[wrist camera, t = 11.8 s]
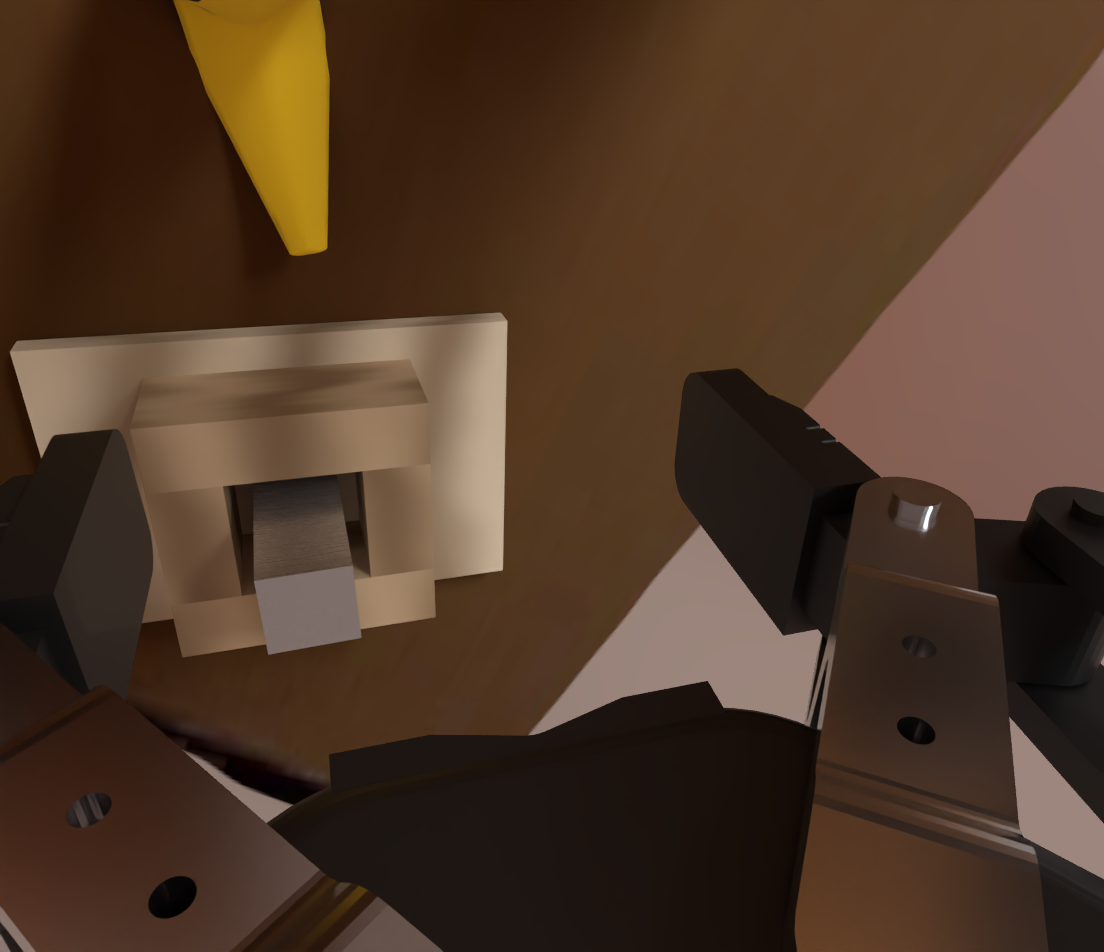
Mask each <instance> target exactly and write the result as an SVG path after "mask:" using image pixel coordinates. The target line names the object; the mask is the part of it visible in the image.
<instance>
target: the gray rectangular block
mask: <svg viewBox="0 0 1104 952" xmlns="http://www.w3.org/2000/svg"><path fill="white" fill-rule="evenodd" d="M253 530H254V584H255V589H256V594H257V599H258V605H259V610H260V615H261V620H262V625H263V630H264V635H265V640H266V645H267V650H268V655H269V654H274V653H280V652H285V651H291V650H296V649H302V648H308V647H313V646H319V645H324V644H330V643H335V642H341V641H346V640H352V639H357V638H361V630H360V622H359V614H358V605H357V597H356V589H355V581H354V572H353V564H352V559H351V553H350V548H349V542H348V536H347V531H346V525H345V519H344V514H343V508H342V502H341V497H340V491H339V486H338V480H337V474H332V475H323V476H314V477H305V478H295V479H286V480H277V481H268V482H258V483H253Z"/></svg>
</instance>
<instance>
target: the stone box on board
mask: <svg viewBox="0 0 1104 952" xmlns="http://www.w3.org/2000/svg"><path fill="white" fill-rule="evenodd" d="M10 354H11V357H12V361H13V364H14V367H15V371H16V374H17V378H18V381H19V384H20V388H21V391H22V395H23V398H24V401H25V405H26V408H27V412H28V415H29V418H30V422H31V425H32V429H33V432H34V435H35V439H36V442H37V446H38V449H39V452H40V456H41V458H42V456H43V454H44V452H45V450H46V448H47V446H48V444H49V442H50V440H51V438H52V437H53V436H54V435H59V434H69V433H79V432H89V431H99V430H109V429H118V430H119V431H120V432H121V434H122V436H123V438H124V440H125V443H126V446H127V449H128V453H129V456H130V460H131V463H132V467H133V471H134V474H135V478H136V481H137V485H138V489H139V492H140V496H141V499H142V503H143V507H144V510H145V514H146V517H147V521H148V525H149V529H150V533H151V539H152V546H153V573H152V578H151V583H150V587H149V592H148V597H147V601H146V606H145V611H144V615H143V620H142V623H147V622H154V621H161V620H168V619H174V623H175V628H176V632H177V636H178V641H179V645H180V649H181V654H182V657H189V656H195V655H201V654H208V653H214V652H220V651H226V650H233V649H239V648H245V647H251V646H258V645H264V644H266V640H265V635H264V630H263V625H262V620H261V615H260V610H259V605H258V599H257V594H256V589H255V584H254V530H253V483H258V482H268V481H277V480H286V479H295V478H305V477H314V476H323V475H332V474H337V480H338V486H339V491H340V497H341V502H342V508H343V514H344V519H345V525H346V531H347V536H348V542H349V548H350V553H351V559H352V564H353V572H354V581H355V589H356V597H357V605H358V614H359V622H360V629H364V628H370V627H377V626H383V625H389V624H395V623H402V622H408V621H414V620H420V619H427V618H433V617H435V587H434V580H439V579H446V578H453V577H460V576H466V575H473V574H480V573H487V572H494V571H500V570H503V529H504V473H505V418H506V362H507V320H506V319H505V317H504V316H503V315H502V314H501V313H484V314H467V315H450V316H433V317H416V318H399V319H382V320H365V321H348V322H331V323H314V324H297V325H280V326H263V327H246V328H229V329H212V330H195V331H178V332H161V333H144V334H126V335H109V336H92V337H75V338H58V339H41V340H24V341H17V342H16V343H15V345H14V346H13V348H12V349H11V351H10Z"/></svg>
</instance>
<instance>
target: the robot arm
mask: <svg viewBox="0 0 1104 952" xmlns="http://www.w3.org/2000/svg"><path fill="white" fill-rule="evenodd" d="M675 478H676V483H677V488H678V491H679V494H680V496H681V498H682V500H683V502H684V503H685V504H686V506H687V507H688V508H689V510H690V511H691V512H692V514H693V515H694V516H695V518H696V519H697V520H698V522H699V523H700V525H701V526H702V527H703V528H704V530H705V531H706V533H707V534H708V535H709V537H710V538H711V539H712V541H713V542H714V543H715V544H716V546H717V547H718V548H719V550H720V551H721V552H722V554H723V555H724V557H725V558H726V559H727V561H728V562H729V563H730V564H731V566H732V567H733V569H734V570H735V571H736V573H737V574H738V575H739V577H740V578H741V579H742V581H743V582H744V583H745V585H746V586H747V587H748V589H749V590H750V591H751V593H752V594H753V595H754V597H755V598H756V599H757V601H758V602H759V603H760V605H761V606H762V607H763V609H764V610H765V611H766V613H767V614H768V615H769V617H770V618H771V619H772V621H773V622H774V623H775V625H776V626H777V628H778V629H779V630H780V632H781V633H782V634H783V635H789V634H794V633H799V632H805V631H810V630H816V629H818V630H819V631H820V632H821V634H822V637H821V641H820V645H819V650H818V653H817V659H816V663H815V669H814V674H813V680H812V685H811V690H810V696H809V701H808V706H807V712H806V718H805V722H804V724H801V723H799V722H797V721H793V720H790V719H787V718H783V717H780V716H777V715H773V714H768V713H763V712H759V711H753V710H745V709H735V708H723V706H722V705H721V703H720V701H719V699H718V698H717V696H716V694H715V693H714V691H713V689H712V688H711V686H710V684H709V683H708V681H706V682H700V683H695V684H690V685H684V686H679V687H674V688H669V689H664V690H659V691H653V692H648V693H643V694H638V695H633V696H628V697H623V698H620V699H618V700H615V701H613V702H611V703H609V704H606V705H604V706H602V707H600V708H597V709H595V710H593V711H590V712H588V713H586V714H584V715H581V716H579V717H577V718H575V719H572V720H570V721H568V722H566V723H563V724H561V725H559V726H556V727H554V728H552V729H550V730H547V731H545V732H542V733H539V734H536V735H528V736H499V735H427V736H422V737H417V738H412V739H407V740H401V741H396V742H391V743H386V744H381V745H376V746H371V747H365V748H360V749H355V750H350V751H345V752H340V753H335V754H329V760H330V777H331V787H328V788H326V789H324V790H322V791H320V792H317V793H315V794H313V795H311V796H309V797H307V798H306V799H304V800H302V801H300V802H298V803H297V804H295V805H293V806H291V807H289V808H288V809H286V810H285V811H284V812H282V813H281V814H279V815H278V816H276V817H275V818H273V819H272V820H270V821H269V822H268V823H265V822H264V821H263V820H262V819H261V818H260V817H258V816H257V815H256V814H255V813H254V812H253V811H252V810H250V809H249V808H248V807H247V806H246V805H245V804H243V803H242V802H241V801H240V800H239V799H238V798H237V797H235V796H234V795H233V794H232V793H231V792H230V791H229V790H227V789H226V788H225V787H224V786H223V785H222V784H220V783H219V782H218V781H217V780H216V779H215V778H213V776H211V775H210V774H209V773H208V772H207V771H205V770H204V769H203V768H202V767H201V766H200V765H199V764H198V763H196V762H195V761H194V760H193V759H192V758H191V757H190V756H188V755H187V754H186V753H185V752H184V751H183V750H181V749H180V748H179V747H178V746H177V745H176V744H175V743H173V742H172V741H171V740H170V739H169V738H168V737H166V736H165V735H164V734H163V733H162V732H161V731H160V730H158V729H157V728H156V727H155V726H154V725H153V724H152V723H150V722H149V721H148V720H147V719H146V718H145V717H143V716H142V715H141V714H140V713H139V712H138V711H137V710H135V709H134V708H133V707H132V706H131V705H130V704H129V703H127V702H126V701H125V700H126V695H127V690H128V686H129V681H130V676H131V672H132V667H133V662H134V658H135V653H136V648H137V644H138V639H139V634H140V629H141V625H142V620H143V615H144V611H145V606H146V601H147V597H148V592H149V587H150V583H151V578H152V573H153V546H152V539H151V533H150V529H149V525H148V521H147V517H146V514H145V510H144V507H143V503H142V499H141V496H140V492H139V489H138V485H137V481H136V478H135V474H134V471H133V467H132V463H131V460H130V456H129V453H128V449H127V446H126V443H125V440H124V438H123V436H122V434H121V432H120V431H119V430H118V429H109V430H99V431H89V432H79V433H69V434H59V435H54V436H53V437H52V438H51V440H50V442H49V444H48V446H47V448H46V450H45V452H44V454H43V456H42V458H41V460H40V462H39V464H38V466H37V468H36V470H35V473H34V474H33V475H23V476H14V477H12V478H10V479H9V480H8V481H7V482H5V483H4V484H3V485H1V486H0V952H1104V879H1102V878H1100V877H1098V876H1096V875H1095V874H1093V873H1091V872H1089V871H1087V870H1085V869H1083V868H1081V867H1079V866H1077V865H1075V864H1074V863H1072V862H1070V861H1068V860H1066V859H1064V858H1062V857H1060V856H1058V855H1056V854H1054V853H1053V852H1051V851H1049V850H1047V849H1045V848H1043V847H1041V846H1039V845H1037V844H1035V843H1033V842H1031V841H1030V840H1028V839H1026V838H1024V837H1023V835H1022V833H1021V831H1020V827H1019V820H1018V810H1017V799H1016V788H1015V777H1014V766H1013V754H1012V743H1011V734H1010V733H1011V732H1010V721H1009V717H1010V718H1011V719H1012V720H1013V721H1014V722H1015V723H1016V725H1017V726H1018V727H1019V728H1020V729H1021V730H1022V731H1023V733H1024V734H1025V735H1026V736H1027V737H1028V738H1029V739H1030V741H1031V742H1032V743H1033V744H1034V745H1035V746H1036V747H1037V748H1038V750H1039V751H1040V752H1041V753H1042V754H1043V755H1044V756H1045V757H1046V759H1047V760H1048V761H1049V762H1050V763H1051V764H1052V765H1053V767H1054V768H1055V769H1056V770H1057V771H1058V772H1059V773H1060V774H1061V776H1062V777H1063V778H1064V779H1065V780H1066V781H1067V782H1068V783H1069V784H1070V786H1071V787H1072V788H1073V789H1074V790H1075V791H1076V793H1077V794H1078V795H1079V796H1080V797H1081V798H1082V799H1083V800H1084V802H1085V803H1086V804H1087V805H1088V806H1089V807H1090V808H1091V810H1093V812H1094V813H1095V814H1096V815H1097V816H1098V817H1099V819H1100V820H1101V821H1102V822H1103V823H1104V666H1103V665H1102V664H1101V661H1102V659H1103V657H1104V493H1103V492H1099V491H1096V490H1091V489H1085V488H1078V487H1054V488H1048V489H1045V490H1042V491H1041V492H1039V493H1038V494H1037V495H1036V496H1035V498H1034V501H1033V503H1032V506H1031V509H1030V511H1029V515H1028V517H1027V520H1026V521H1011V520H994V519H976V518H974V515H973V512H972V510H971V508H970V507H969V506H968V505H967V503H966V502H965V501H963V500H962V499H961V498H960V497H958V496H957V495H955V494H954V493H952V492H951V491H949V490H947V489H945V488H942V487H940V486H938V485H935V484H932V483H929V482H926V481H922V480H917V479H912V478H905V477H883V478H881V477H880V476H879V475H878V474H877V473H875V472H874V471H873V470H872V469H871V468H870V467H868V466H867V465H866V464H865V463H864V462H863V461H861V460H860V459H859V458H858V457H857V456H856V455H854V454H853V453H852V452H851V451H850V450H848V449H847V448H846V447H845V446H844V445H843V444H841V443H840V442H836V438H835V437H833V436H832V435H831V434H830V433H829V432H828V431H826V430H825V429H824V428H822V429H820V425H819V424H818V423H817V422H816V421H815V420H813V419H812V418H811V417H810V416H809V415H808V414H806V413H805V412H804V411H803V410H802V409H801V408H798V407H796V406H794V405H792V404H790V403H787V402H785V401H783V400H781V399H779V398H777V397H774V396H772V395H768V394H767V393H766V392H765V391H764V390H763V389H762V388H761V387H759V386H758V385H757V384H756V383H755V382H754V381H753V380H751V379H750V378H749V377H748V376H747V375H746V374H745V373H744V372H742V371H741V370H740V369H737V368H736V369H725V370H715V371H705V372H695V373H691V374H689V375H688V376H687V378H686V380H685V383H684V386H683V392H682V401H681V410H680V419H679V428H678V438H677V447H676V456H675Z"/></svg>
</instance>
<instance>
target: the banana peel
mask: <svg viewBox="0 0 1104 952" xmlns="http://www.w3.org/2000/svg"><path fill="white" fill-rule="evenodd" d="M173 1H174V4H175V7H176V9H177V12H178V15H179V18H180V21H181V24H182V27H183V30H184V33H185V36H186V40H187V43H188V46H189V49H190V52H191V54H192V56H193V57H194V59H195V62H196V64H197V67H198V69H199V72H200V75H201V78H202V81H203V84H204V87H205V90H206V93H207V95H208V97H209V99H210V101H211V103H212V105H213V107H214V108H215V110H216V112H217V114H218V116H219V118H220V120H221V122H222V124H223V126H224V128H225V130H226V132H227V134H228V135H229V137H230V139H231V141H232V143H233V145H234V147H235V149H236V151H237V153H238V155H239V157H240V159H241V161H242V163H243V165H244V166H245V168H246V170H247V172H248V174H249V176H250V178H251V180H252V182H253V184H254V186H255V188H256V190H257V192H258V194H259V196H260V198H261V200H262V201H263V203H264V205H265V207H266V209H267V211H268V213H269V215H270V217H271V219H272V221H273V223H274V225H275V227H276V229H277V231H278V232H279V234H280V236H281V238H282V240H283V242H284V244H285V246H286V248H287V250H288V252H289V254H291V255H294V256H302V255H308V254H314V253H319V252H322V251H324V250H326V249H327V238H328V172H329V96H330V76H329V70H328V64H327V57H326V48H325V29H324V24H323V18H322V12H321V6H320V0H173Z"/></svg>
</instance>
